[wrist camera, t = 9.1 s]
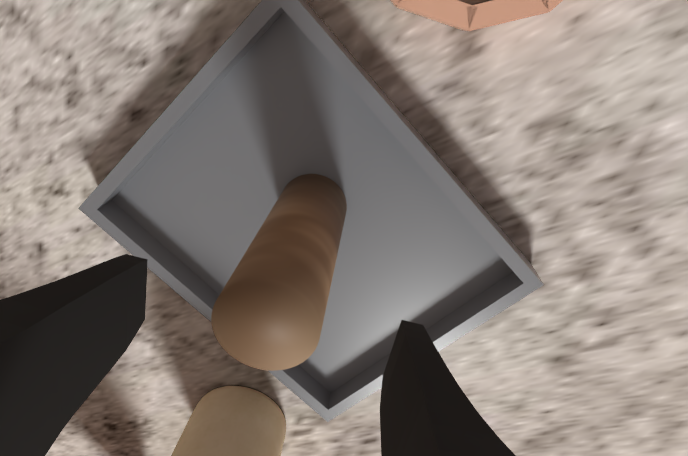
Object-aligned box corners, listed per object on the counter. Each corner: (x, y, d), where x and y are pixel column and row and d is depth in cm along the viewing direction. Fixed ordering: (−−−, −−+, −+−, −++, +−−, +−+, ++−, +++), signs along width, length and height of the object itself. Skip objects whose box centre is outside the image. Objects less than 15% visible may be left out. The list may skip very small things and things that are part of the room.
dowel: (353, 182, 20) (330, 293, 12) (338, 242, 21) (309, 381, 13) (286, 166, 20) (217, 267, 12) (275, 227, 21) (206, 356, 13)
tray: (531, 264, 22) (543, 284, 20) (331, 396, 26) (327, 421, 24) (290, -17, 18) (280, -21, 16) (101, 194, 22) (78, 208, 20)
